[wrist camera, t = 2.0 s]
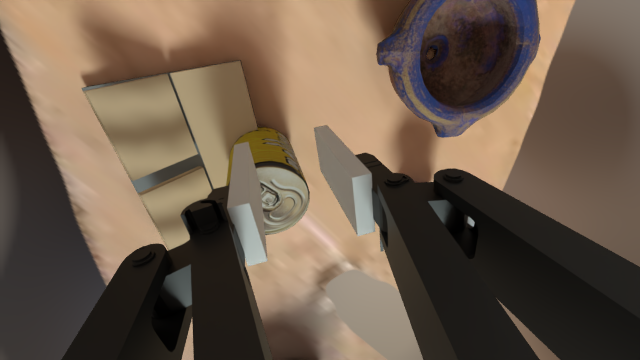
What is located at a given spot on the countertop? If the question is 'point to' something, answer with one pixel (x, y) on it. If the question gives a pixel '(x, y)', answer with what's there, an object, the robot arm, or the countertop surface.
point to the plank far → (175, 204)
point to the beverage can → (276, 178)
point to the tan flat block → (143, 124)
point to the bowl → (460, 57)
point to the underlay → (206, 119)
